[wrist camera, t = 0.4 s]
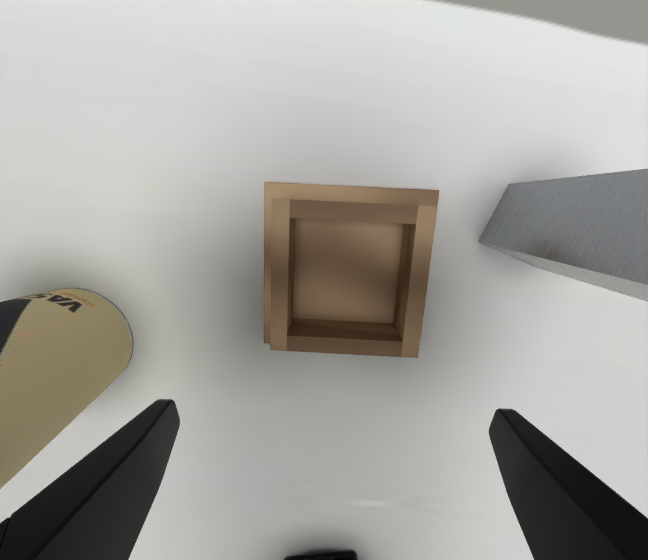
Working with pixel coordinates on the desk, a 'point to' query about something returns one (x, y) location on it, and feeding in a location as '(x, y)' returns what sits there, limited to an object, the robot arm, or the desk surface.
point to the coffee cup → (54, 366)
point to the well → (346, 268)
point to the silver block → (579, 228)
